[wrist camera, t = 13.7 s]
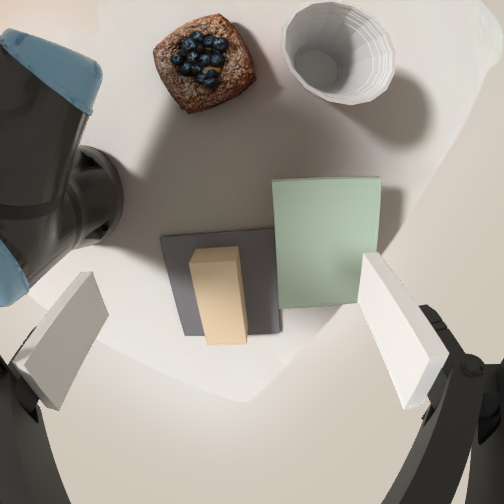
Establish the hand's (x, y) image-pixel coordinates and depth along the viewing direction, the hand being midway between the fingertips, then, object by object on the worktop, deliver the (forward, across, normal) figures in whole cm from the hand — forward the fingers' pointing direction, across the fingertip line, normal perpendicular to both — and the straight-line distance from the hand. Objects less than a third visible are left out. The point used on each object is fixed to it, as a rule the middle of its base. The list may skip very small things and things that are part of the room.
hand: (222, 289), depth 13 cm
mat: (+26, -4, -17) cm, 31 cm away
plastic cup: (+26, +11, +13) cm, 31 cm away
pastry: (+27, -3, +15) cm, 31 cm away
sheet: (+19, +10, -8) cm, 23 cm away
